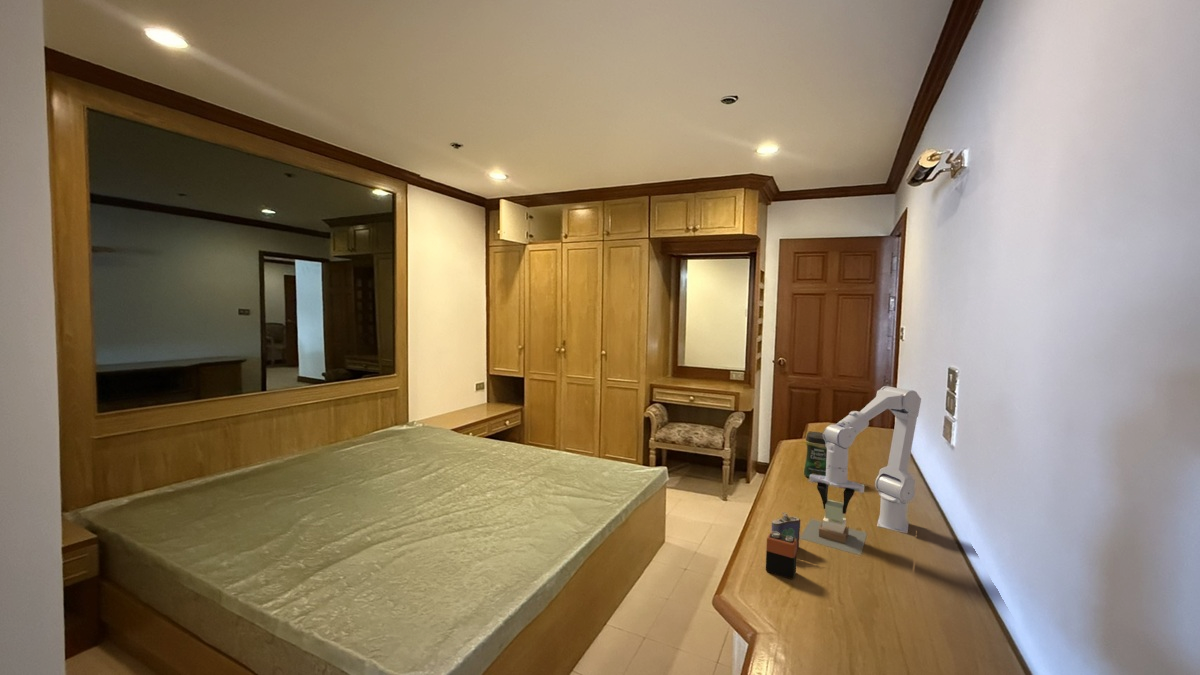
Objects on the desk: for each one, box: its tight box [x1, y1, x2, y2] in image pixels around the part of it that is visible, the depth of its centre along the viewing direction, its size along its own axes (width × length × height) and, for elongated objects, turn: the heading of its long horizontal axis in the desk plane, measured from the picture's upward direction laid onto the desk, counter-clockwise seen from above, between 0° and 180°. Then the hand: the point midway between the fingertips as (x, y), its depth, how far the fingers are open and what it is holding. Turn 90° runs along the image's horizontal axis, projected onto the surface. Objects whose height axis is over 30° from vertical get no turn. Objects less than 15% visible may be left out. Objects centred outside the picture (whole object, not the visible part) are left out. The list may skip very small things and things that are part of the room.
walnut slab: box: [819, 521, 850, 544], centre depth 140 cm, size 7×7×2 cm
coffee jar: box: [803, 430, 827, 479], centre depth 189 cm, size 10×8×19 cm
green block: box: [824, 499, 845, 522], centre depth 140 cm, size 4×4×4 cm
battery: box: [765, 531, 798, 580], centre depth 121 cm, size 4×7×10 cm, turn 57°
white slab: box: [822, 516, 847, 534], centre depth 140 cm, size 6×6×2 cm
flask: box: [770, 511, 801, 550], centre depth 132 cm, size 9×3×11 cm, turn 109°
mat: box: [799, 518, 868, 556], centre depth 140 cm, size 16×16×1 cm
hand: (834, 510), depth 140 cm, fingers closed on green block, 4 cm apart
